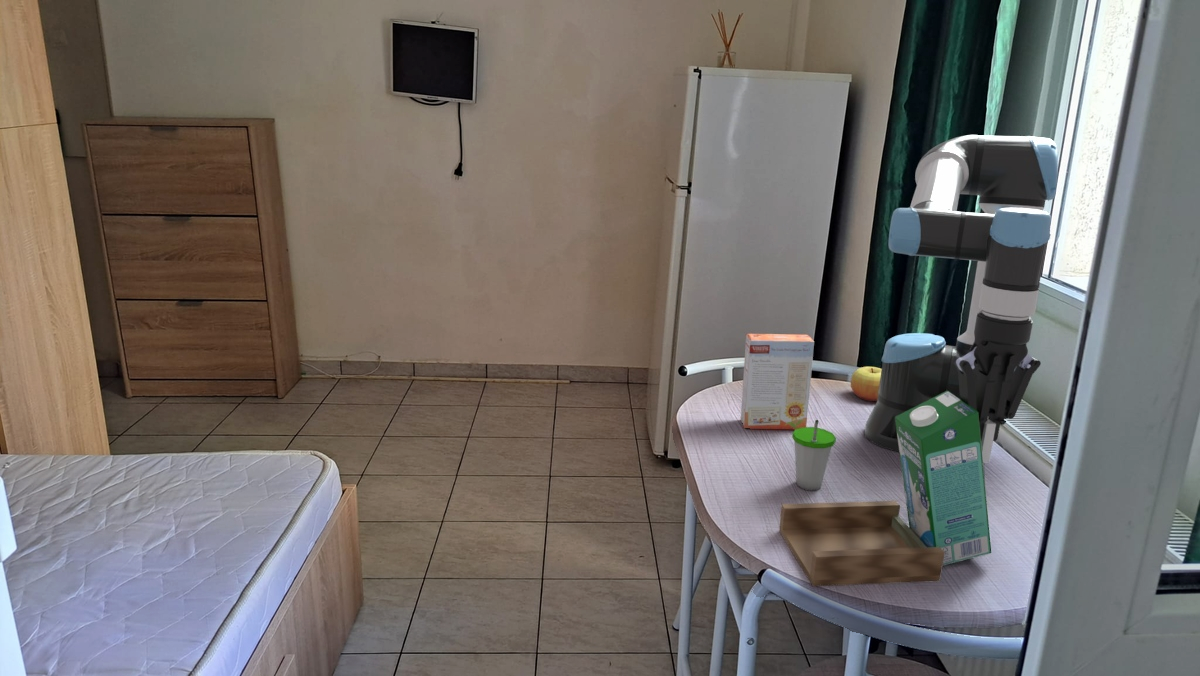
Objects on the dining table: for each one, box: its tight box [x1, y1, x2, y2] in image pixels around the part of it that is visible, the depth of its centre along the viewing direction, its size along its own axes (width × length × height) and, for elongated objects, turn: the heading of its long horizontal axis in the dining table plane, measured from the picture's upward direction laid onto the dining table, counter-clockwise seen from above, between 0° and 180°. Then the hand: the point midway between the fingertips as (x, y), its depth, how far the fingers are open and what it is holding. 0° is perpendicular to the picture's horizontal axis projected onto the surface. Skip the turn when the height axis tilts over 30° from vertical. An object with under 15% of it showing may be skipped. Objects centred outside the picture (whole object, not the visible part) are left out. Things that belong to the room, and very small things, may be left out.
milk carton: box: [895, 391, 992, 567], centre depth 123 cm, size 9×9×25 cm
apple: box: [850, 366, 882, 402], centre depth 194 cm, size 10×10×8 cm
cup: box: [791, 419, 837, 491], centre depth 147 cm, size 8×8×15 cm
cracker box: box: [740, 333, 815, 431], centre depth 174 cm, size 14×6×21 cm, turn 89°
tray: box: [778, 500, 945, 587], centre depth 125 cm, size 20×16×5 cm
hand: (979, 458), depth 123 cm, fingers closed
